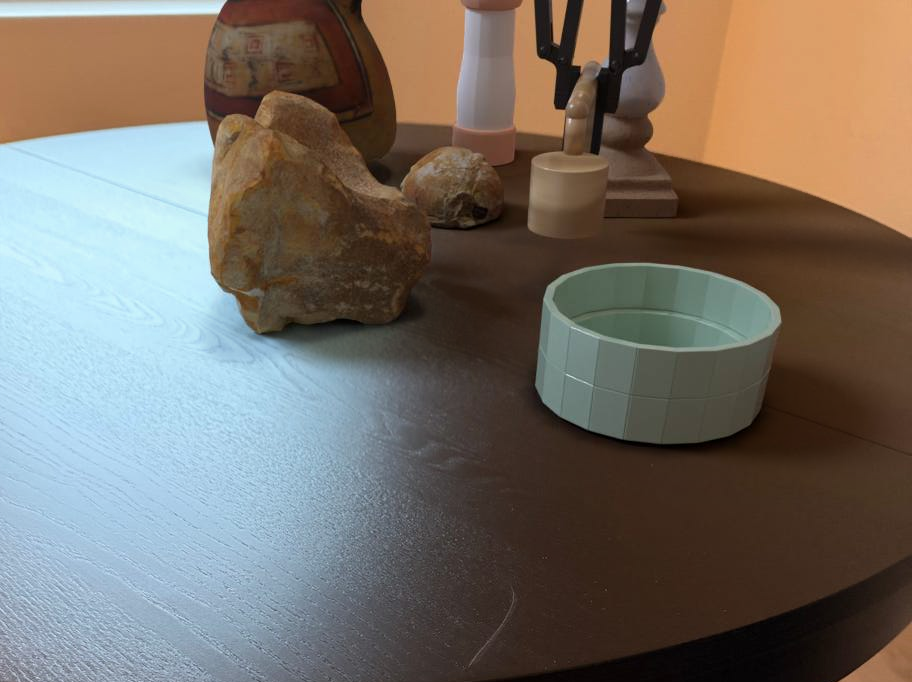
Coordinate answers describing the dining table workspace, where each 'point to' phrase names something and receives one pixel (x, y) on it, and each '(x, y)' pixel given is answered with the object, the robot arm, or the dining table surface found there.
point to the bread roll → (455, 188)
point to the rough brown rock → (308, 222)
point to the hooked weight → (571, 172)
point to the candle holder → (636, 136)
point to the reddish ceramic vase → (301, 66)
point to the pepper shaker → (487, 81)
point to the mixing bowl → (655, 352)
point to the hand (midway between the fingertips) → (581, 150)
